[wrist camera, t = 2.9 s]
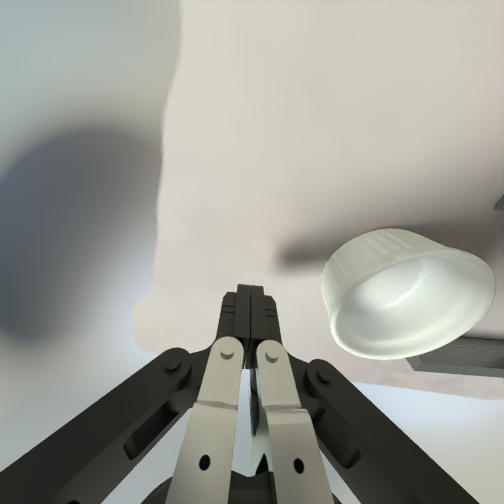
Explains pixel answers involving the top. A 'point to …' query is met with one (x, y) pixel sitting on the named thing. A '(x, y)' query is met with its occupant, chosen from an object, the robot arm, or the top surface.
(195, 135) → the top surface
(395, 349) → the ramekin
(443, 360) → the press
